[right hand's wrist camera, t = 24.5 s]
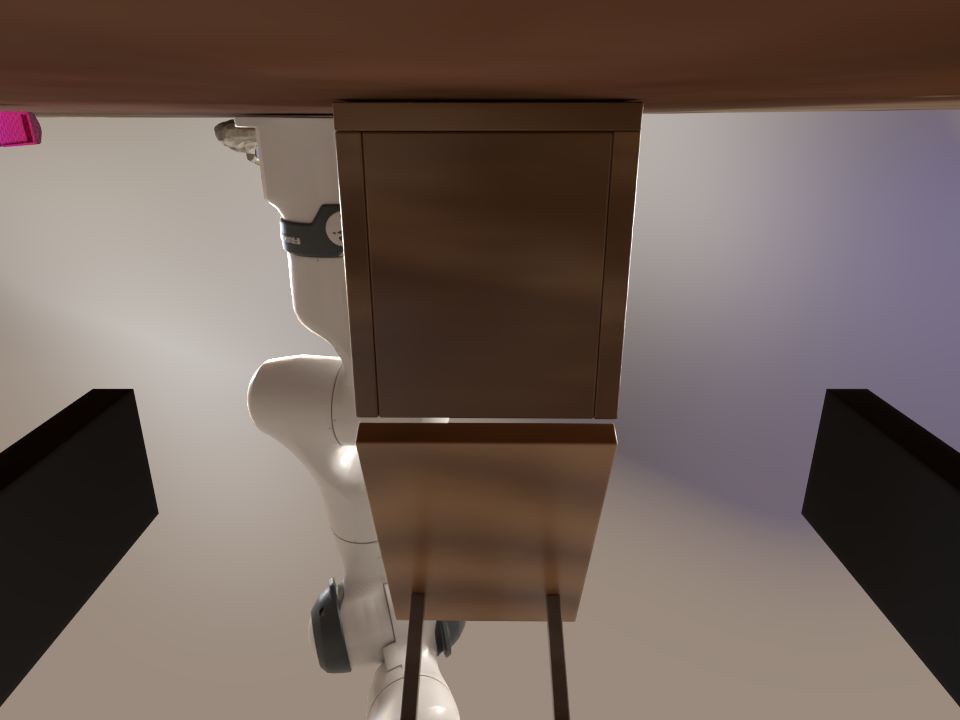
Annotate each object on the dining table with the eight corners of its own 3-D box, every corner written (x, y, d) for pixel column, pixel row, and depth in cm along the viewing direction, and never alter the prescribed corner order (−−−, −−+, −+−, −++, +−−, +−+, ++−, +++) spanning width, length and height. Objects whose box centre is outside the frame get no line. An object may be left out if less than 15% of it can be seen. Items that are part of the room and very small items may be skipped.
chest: (579, 108, 34) (569, 309, 38) (395, 108, 34) (403, 309, 38) (643, 101, 20) (617, 419, 24) (331, 101, 20) (355, 418, 24)
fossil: (234, 148, 88) (317, 198, 100) (272, 75, 88) (351, 135, 100) (184, 124, 99) (265, 172, 111) (218, 59, 99) (295, 115, 110)
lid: (573, 603, 36) (591, 792, 30) (397, 602, 36) (378, 790, 30) (614, 422, 25) (657, 664, 18) (358, 421, 25) (314, 661, 18)
